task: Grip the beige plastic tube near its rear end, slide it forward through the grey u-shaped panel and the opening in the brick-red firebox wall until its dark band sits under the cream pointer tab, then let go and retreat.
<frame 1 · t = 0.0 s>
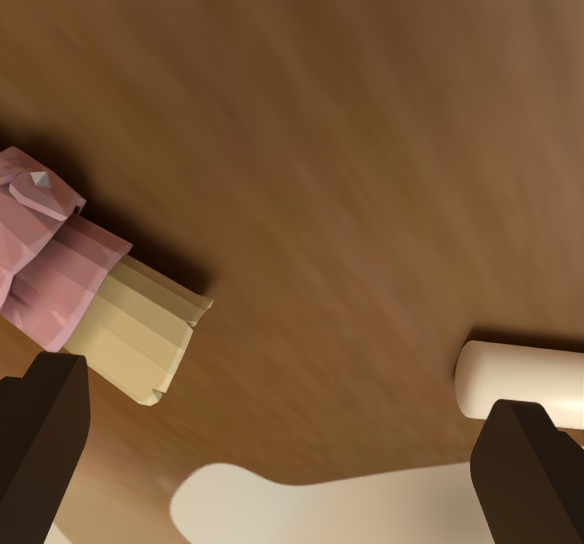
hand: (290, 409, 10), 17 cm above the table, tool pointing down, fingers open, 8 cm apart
scroll: (40, 194, 27), on the table
air tube: (582, 367, 33), on the table
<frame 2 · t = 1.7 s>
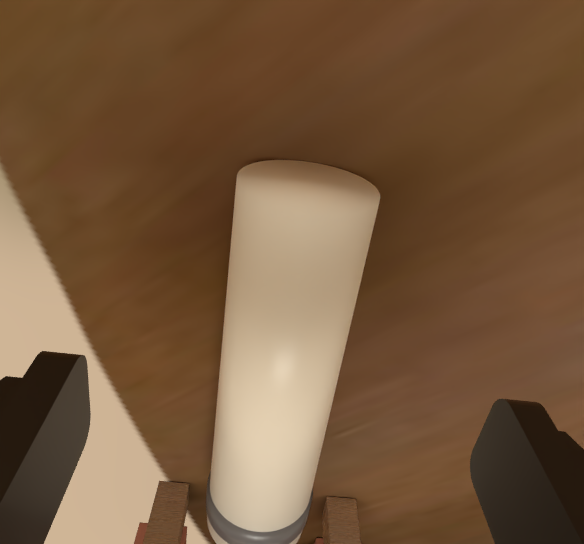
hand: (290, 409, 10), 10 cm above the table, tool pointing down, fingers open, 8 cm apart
air tube: (281, 347, 22), on the table
firebox wall: (250, 540, 28), on the table
grey u-shaped panel: (257, 499, 27), on the table
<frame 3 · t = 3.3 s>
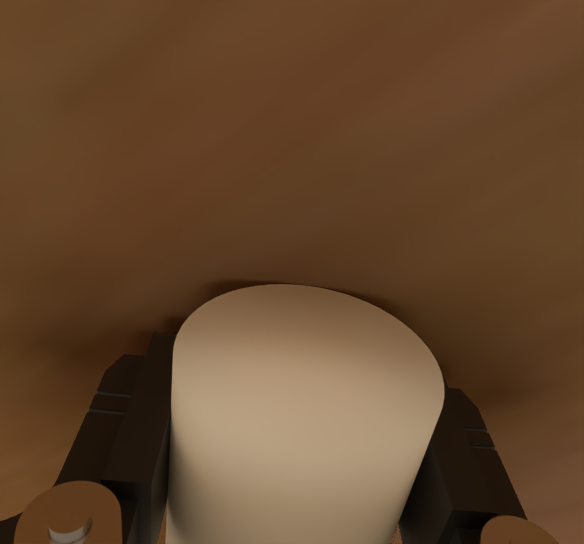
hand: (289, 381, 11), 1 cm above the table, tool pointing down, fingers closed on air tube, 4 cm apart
air tube: (264, 532, 14), on the table, touching gripper
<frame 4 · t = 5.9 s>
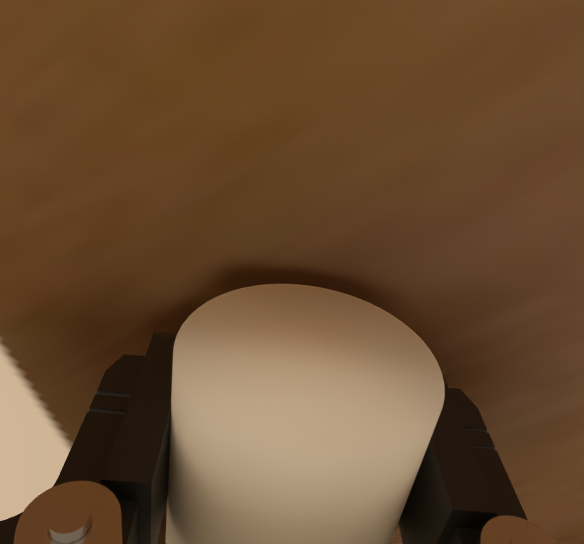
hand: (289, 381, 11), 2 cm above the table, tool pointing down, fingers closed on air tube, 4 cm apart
air tube: (265, 532, 14), point 1 cm above the table, touching gripper
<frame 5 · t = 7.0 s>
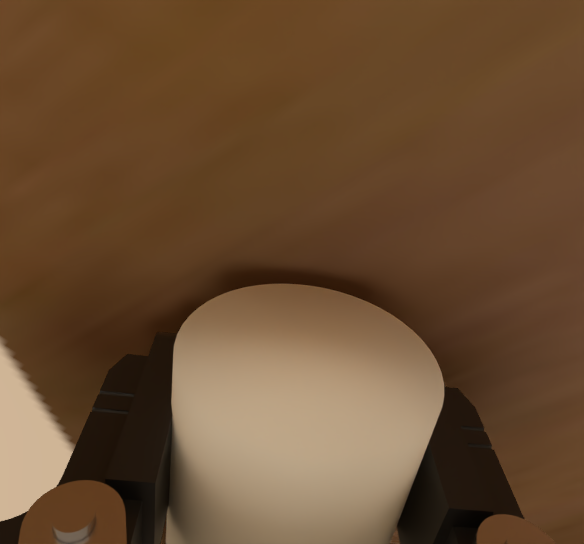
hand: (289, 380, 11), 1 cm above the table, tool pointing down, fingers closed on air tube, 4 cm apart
air tube: (265, 532, 14), point 1 cm above the table, touching gripper
when the fingers open (1 cm above the table, at t = 7.2 s): air tube stays where it is, on the table.
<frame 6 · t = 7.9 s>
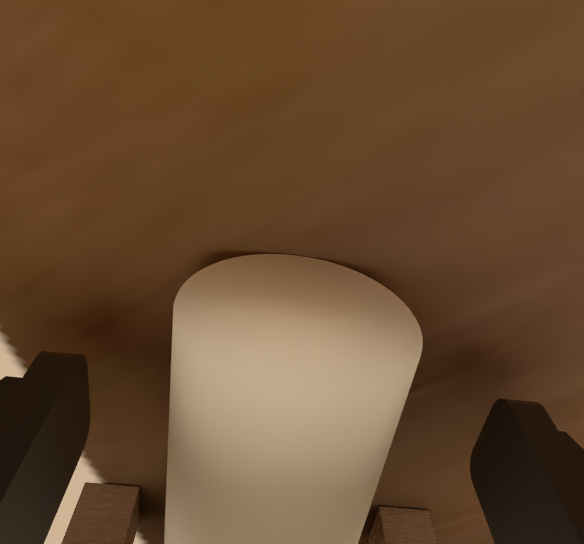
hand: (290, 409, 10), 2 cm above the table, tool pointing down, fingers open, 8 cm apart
air tube: (268, 500, 15), on the table, tilted 9°
grey u-shaped panel: (258, 513, 15), on the table
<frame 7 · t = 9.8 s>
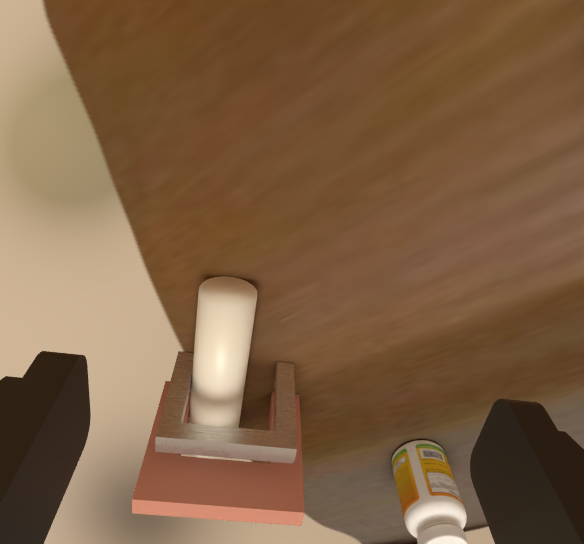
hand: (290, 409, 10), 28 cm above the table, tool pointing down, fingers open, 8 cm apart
air tube: (237, 361, 45), point 1 cm above the table, tilted 38°, touching firebox wall
firebox wall: (232, 394, 47), on the table
grey u-shaped panel: (236, 364, 45), on the table
supplement bottle: (417, 455, 52), on the table
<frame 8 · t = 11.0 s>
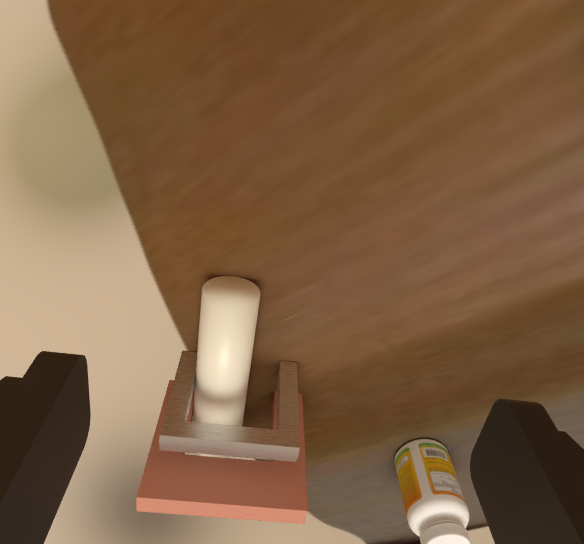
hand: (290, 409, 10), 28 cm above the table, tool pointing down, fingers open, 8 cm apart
air tube: (240, 360, 45), point 1 cm above the table, tilted 38°, touching firebox wall
firebox wall: (235, 392, 47), on the table
grey u-shaped panel: (239, 363, 46), on the table
supplement bottle: (420, 454, 52), on the table
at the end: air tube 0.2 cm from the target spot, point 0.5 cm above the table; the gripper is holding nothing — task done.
